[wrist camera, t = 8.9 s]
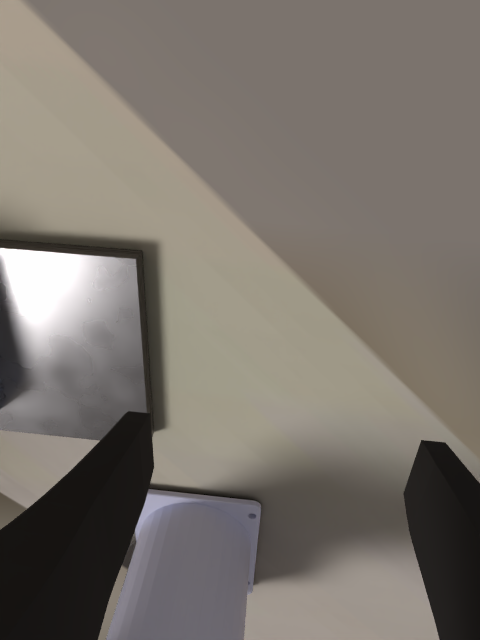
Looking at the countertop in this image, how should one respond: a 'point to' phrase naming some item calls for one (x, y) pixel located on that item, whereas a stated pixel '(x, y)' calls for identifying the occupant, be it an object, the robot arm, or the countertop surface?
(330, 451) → the countertop surface
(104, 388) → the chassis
